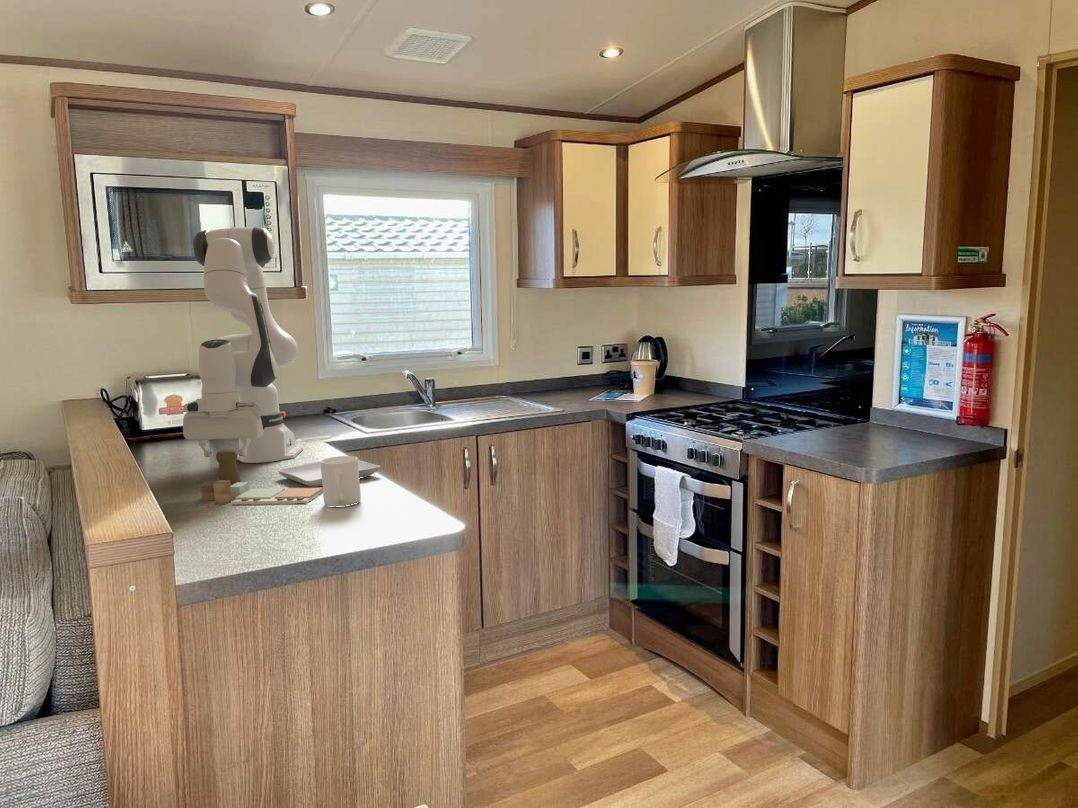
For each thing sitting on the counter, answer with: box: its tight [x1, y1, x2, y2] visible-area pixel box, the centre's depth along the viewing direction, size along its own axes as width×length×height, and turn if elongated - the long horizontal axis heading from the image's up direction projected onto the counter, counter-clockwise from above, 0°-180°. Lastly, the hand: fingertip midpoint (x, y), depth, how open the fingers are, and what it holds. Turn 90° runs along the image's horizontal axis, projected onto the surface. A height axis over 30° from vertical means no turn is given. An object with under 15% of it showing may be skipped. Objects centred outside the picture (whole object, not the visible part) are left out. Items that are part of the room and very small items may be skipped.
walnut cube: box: [200, 480, 218, 502], centre depth 202 cm, size 4×4×4 cm
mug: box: [319, 455, 362, 507], centre depth 188 cm, size 9×12×11 cm
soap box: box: [231, 481, 250, 499], centre depth 203 cm, size 5×3×3 cm, turn 174°
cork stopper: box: [213, 480, 234, 505], centre depth 197 cm, size 4×4×5 cm
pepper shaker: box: [215, 448, 241, 485], centre depth 208 cm, size 6×6×11 cm
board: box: [230, 487, 323, 505], centre depth 198 cm, size 11×19×1 cm, turn 84°
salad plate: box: [277, 459, 381, 488], centre depth 218 cm, size 21×21×3 cm
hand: (225, 456), depth 207 cm, fingers open, 8 cm apart
